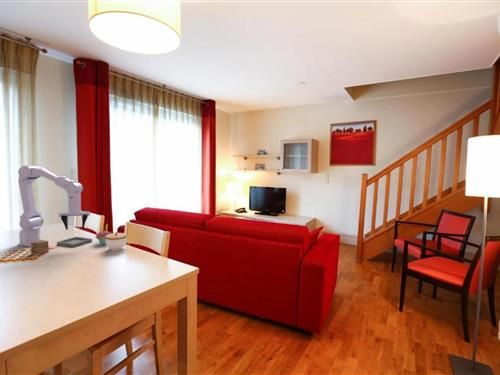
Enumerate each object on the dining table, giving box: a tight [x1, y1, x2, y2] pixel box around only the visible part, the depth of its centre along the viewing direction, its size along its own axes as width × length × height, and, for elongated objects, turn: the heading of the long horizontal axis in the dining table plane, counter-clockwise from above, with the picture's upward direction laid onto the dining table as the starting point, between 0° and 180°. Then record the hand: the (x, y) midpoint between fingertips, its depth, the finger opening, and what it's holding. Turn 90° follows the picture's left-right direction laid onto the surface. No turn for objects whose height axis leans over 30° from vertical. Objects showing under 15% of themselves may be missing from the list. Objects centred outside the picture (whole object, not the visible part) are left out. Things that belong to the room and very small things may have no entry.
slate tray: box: [56, 236, 93, 248], centre depth 155 cm, size 12×12×2 cm
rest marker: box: [48, 245, 58, 250], centre depth 145 cm, size 6×6×1 cm
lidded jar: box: [105, 231, 128, 252], centre depth 147 cm, size 11×11×9 cm
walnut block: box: [30, 239, 50, 255], centre depth 137 cm, size 5×5×6 cm
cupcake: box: [95, 223, 112, 245], centre depth 156 cm, size 9×8×12 cm
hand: (75, 228), depth 149 cm, fingers open, 7 cm apart
